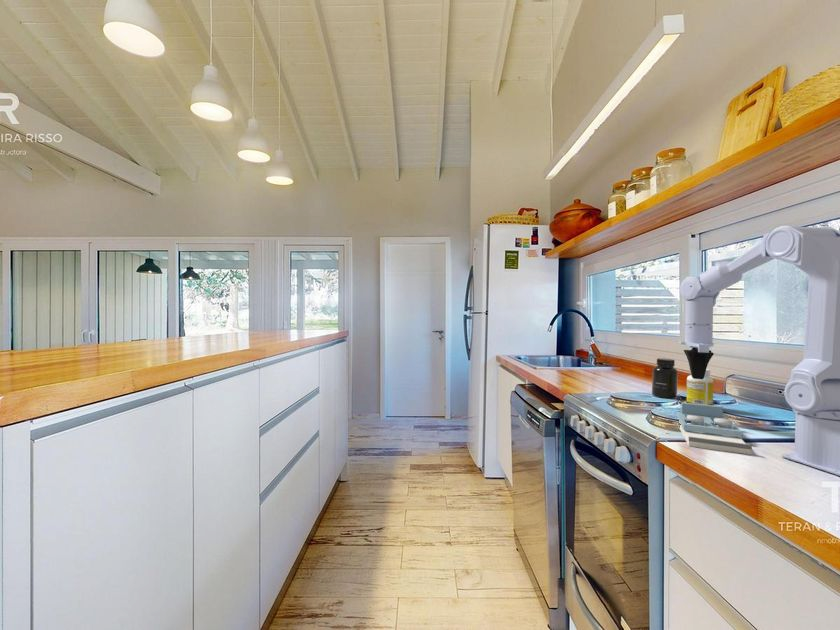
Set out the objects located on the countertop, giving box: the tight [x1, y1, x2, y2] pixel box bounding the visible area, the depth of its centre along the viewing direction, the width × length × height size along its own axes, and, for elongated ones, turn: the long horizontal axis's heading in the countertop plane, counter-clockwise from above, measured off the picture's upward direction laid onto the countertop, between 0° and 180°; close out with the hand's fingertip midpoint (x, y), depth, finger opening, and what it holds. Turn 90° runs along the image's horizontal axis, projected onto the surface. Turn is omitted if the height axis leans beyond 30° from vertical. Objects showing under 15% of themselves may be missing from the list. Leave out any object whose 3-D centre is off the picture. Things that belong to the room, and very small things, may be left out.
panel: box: [675, 402, 742, 438], centre depth 89 cm, size 12×10×4 cm
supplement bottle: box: [651, 357, 679, 400], centre depth 124 cm, size 7×7×12 cm
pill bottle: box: [686, 368, 714, 406], centre depth 111 cm, size 6×6×11 cm
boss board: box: [679, 415, 753, 456], centre depth 86 cm, size 20×10×4 cm, turn 153°
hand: (697, 378), depth 99 cm, fingers closed
